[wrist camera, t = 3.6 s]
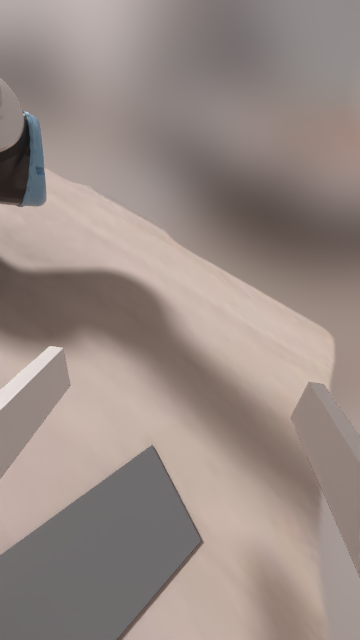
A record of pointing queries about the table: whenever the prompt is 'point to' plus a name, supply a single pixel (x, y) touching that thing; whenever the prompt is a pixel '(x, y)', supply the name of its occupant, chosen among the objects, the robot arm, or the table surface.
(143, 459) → the mat
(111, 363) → the table surface
